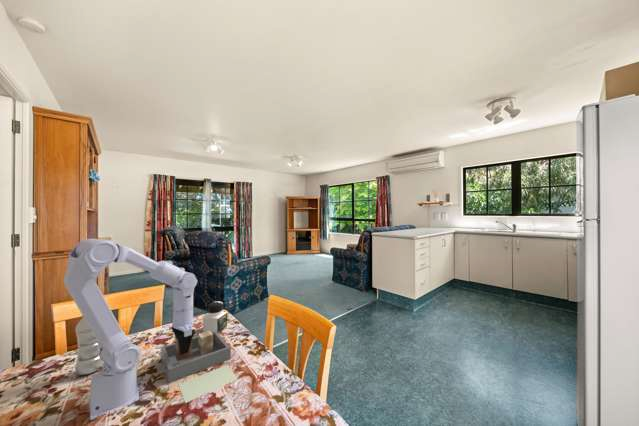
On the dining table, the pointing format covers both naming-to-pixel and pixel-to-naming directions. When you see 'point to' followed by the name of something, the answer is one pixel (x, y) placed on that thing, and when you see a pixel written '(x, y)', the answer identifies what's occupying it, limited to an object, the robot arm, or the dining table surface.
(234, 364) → the dining table surface
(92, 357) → the plastic bottle
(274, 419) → the dining table surface
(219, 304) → the medicine bottle
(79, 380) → the dining table surface
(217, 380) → the board
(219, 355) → the bin
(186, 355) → the walnut block
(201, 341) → the birch block
